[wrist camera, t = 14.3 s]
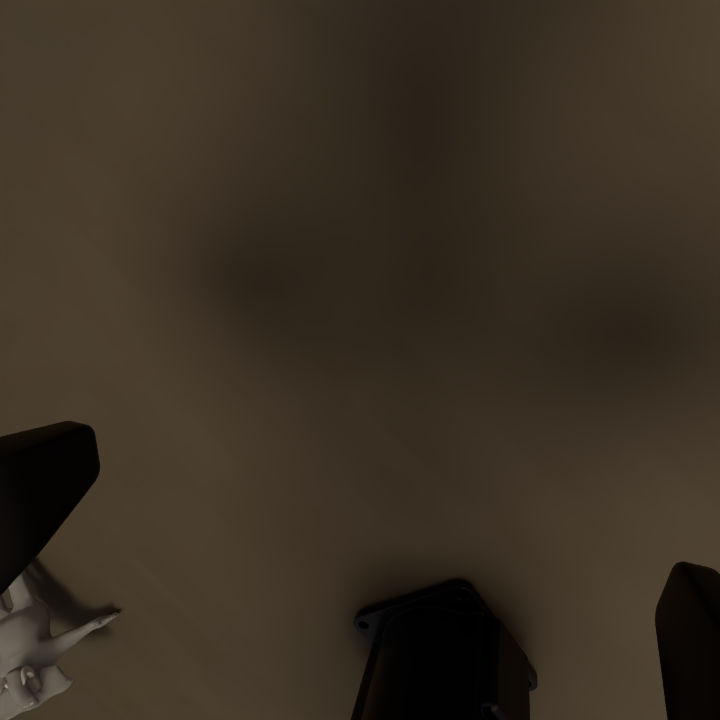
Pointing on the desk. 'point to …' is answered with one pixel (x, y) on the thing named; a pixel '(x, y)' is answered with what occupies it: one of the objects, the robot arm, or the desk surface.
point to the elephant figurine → (32, 651)
